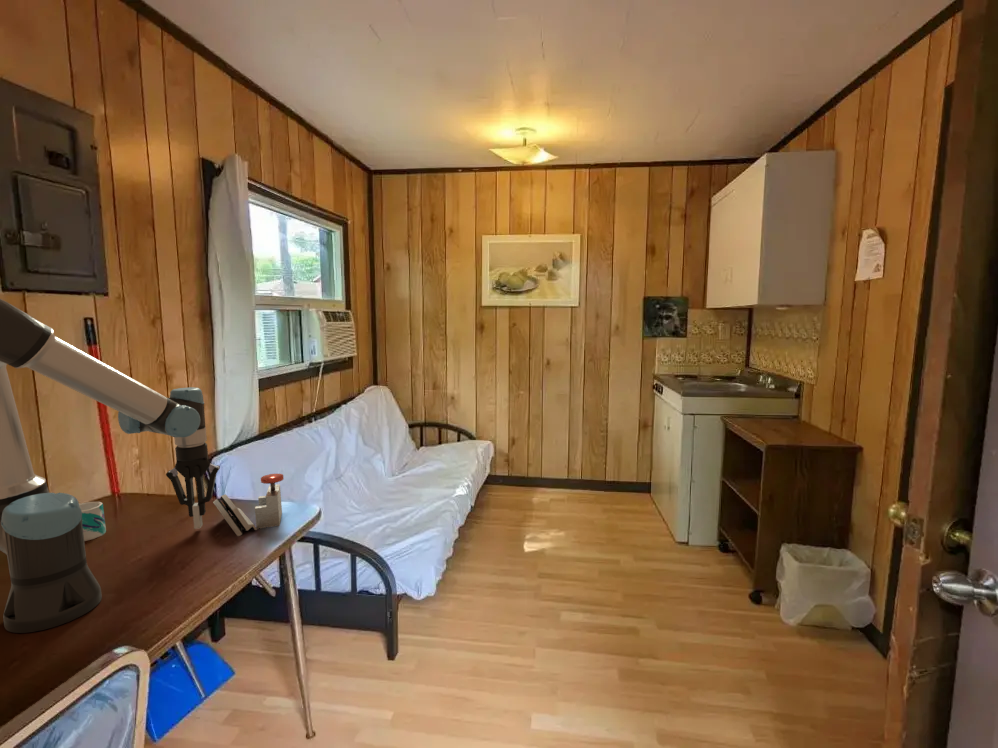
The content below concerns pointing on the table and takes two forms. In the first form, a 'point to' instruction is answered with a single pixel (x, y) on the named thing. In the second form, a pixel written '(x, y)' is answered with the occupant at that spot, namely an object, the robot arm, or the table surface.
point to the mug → (92, 520)
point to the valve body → (269, 503)
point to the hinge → (237, 515)
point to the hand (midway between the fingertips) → (198, 526)
